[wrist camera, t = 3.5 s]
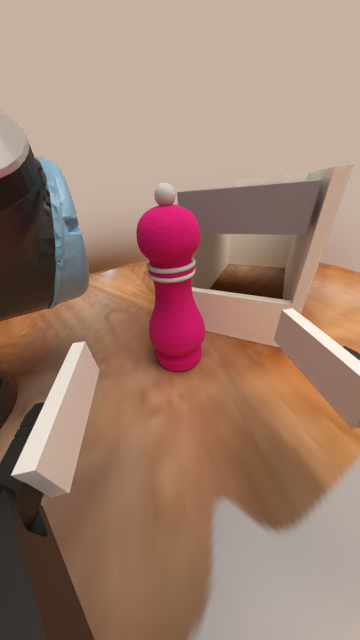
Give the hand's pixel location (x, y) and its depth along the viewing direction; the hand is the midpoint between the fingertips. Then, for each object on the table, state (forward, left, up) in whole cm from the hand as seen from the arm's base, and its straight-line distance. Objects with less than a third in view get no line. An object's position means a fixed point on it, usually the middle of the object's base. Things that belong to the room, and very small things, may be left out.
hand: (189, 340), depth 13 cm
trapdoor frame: (-1, +31, -11) cm, 33 cm away
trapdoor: (-1, +26, +4) cm, 26 cm away
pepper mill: (-6, +8, -11) cm, 15 cm away
